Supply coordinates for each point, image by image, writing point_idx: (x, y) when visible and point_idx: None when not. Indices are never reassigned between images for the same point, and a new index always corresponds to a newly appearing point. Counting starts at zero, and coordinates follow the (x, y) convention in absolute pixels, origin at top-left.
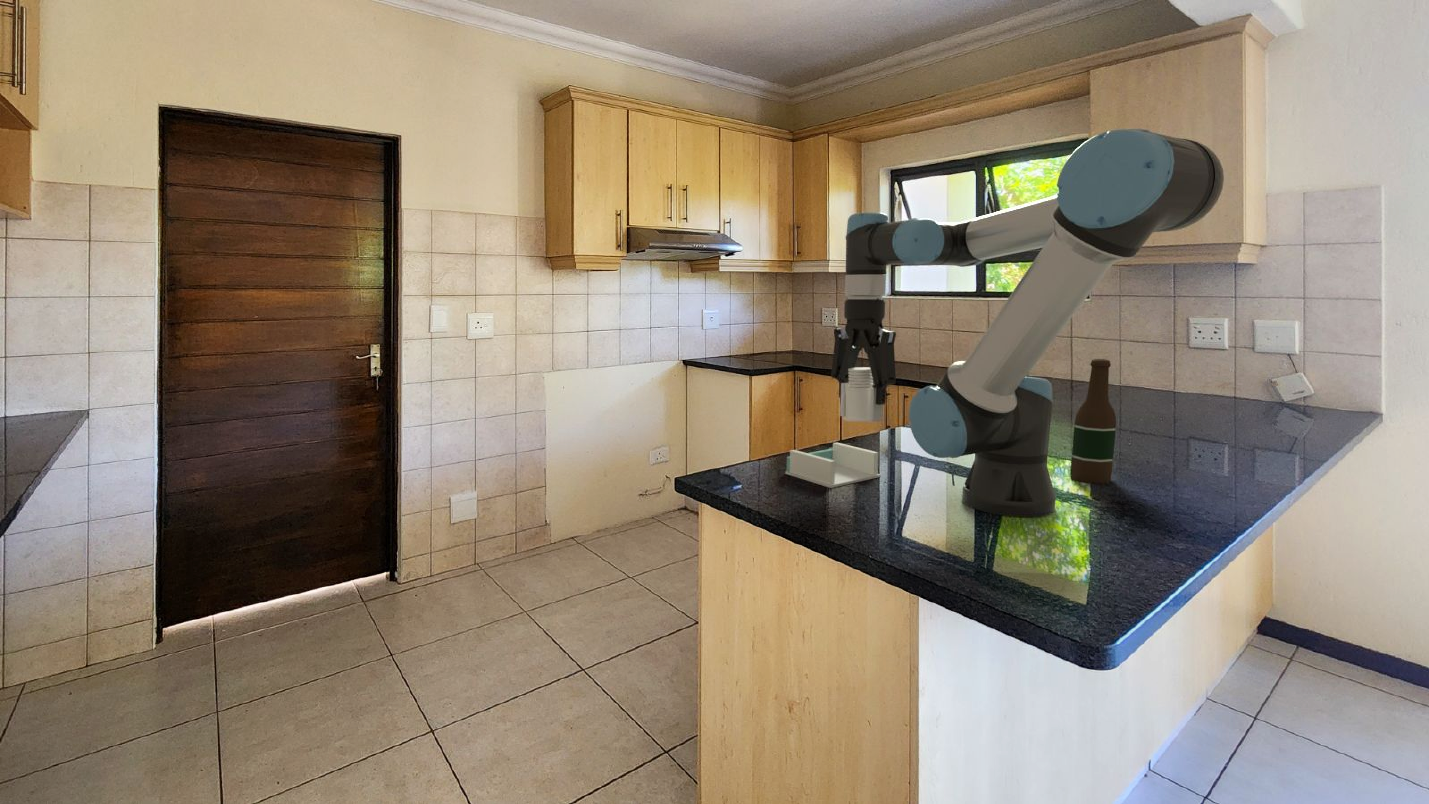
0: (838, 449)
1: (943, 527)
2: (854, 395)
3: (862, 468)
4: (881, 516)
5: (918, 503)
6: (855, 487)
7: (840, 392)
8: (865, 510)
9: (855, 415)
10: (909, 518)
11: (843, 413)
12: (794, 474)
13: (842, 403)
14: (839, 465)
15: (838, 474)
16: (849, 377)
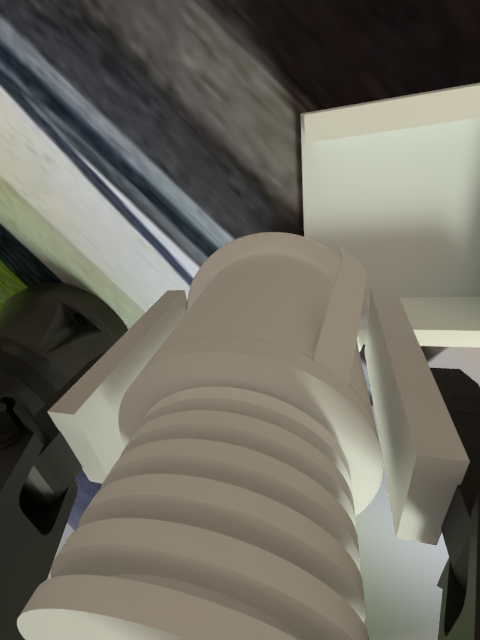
0: (472, 321)
1: None
2: (199, 322)
3: None
4: (47, 68)
5: (114, 227)
6: (269, 191)
7: (465, 401)
8: (94, 60)
9: (230, 266)
10: (29, 126)
11: (373, 299)
12: None
13: (391, 328)
14: (446, 296)
15: (377, 225)
16: (341, 531)
